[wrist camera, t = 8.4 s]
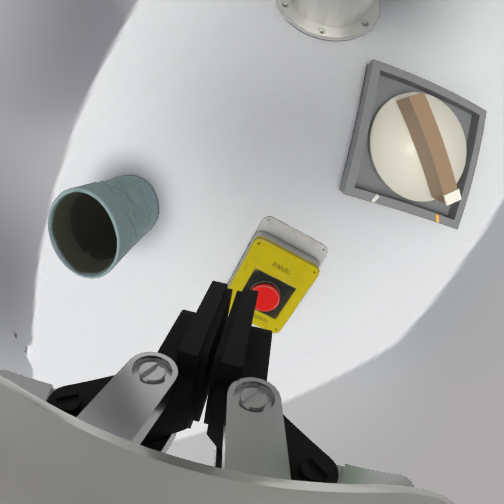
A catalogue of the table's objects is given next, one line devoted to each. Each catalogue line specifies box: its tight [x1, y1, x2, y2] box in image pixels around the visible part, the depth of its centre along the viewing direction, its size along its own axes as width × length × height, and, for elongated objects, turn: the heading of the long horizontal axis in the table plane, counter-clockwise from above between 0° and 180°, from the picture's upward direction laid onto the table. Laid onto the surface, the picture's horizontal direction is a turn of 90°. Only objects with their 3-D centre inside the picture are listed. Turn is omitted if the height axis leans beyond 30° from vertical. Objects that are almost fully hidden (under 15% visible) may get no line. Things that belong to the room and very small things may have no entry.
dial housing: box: [340, 60, 486, 230], centre depth 30 cm, size 16×16×3 cm
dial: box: [368, 92, 467, 206], centre depth 28 cm, size 13×13×6 cm
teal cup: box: [48, 175, 159, 279], centre depth 34 cm, size 10×10×12 cm
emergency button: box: [228, 216, 327, 333], centre depth 39 cm, size 9×4×15 cm
